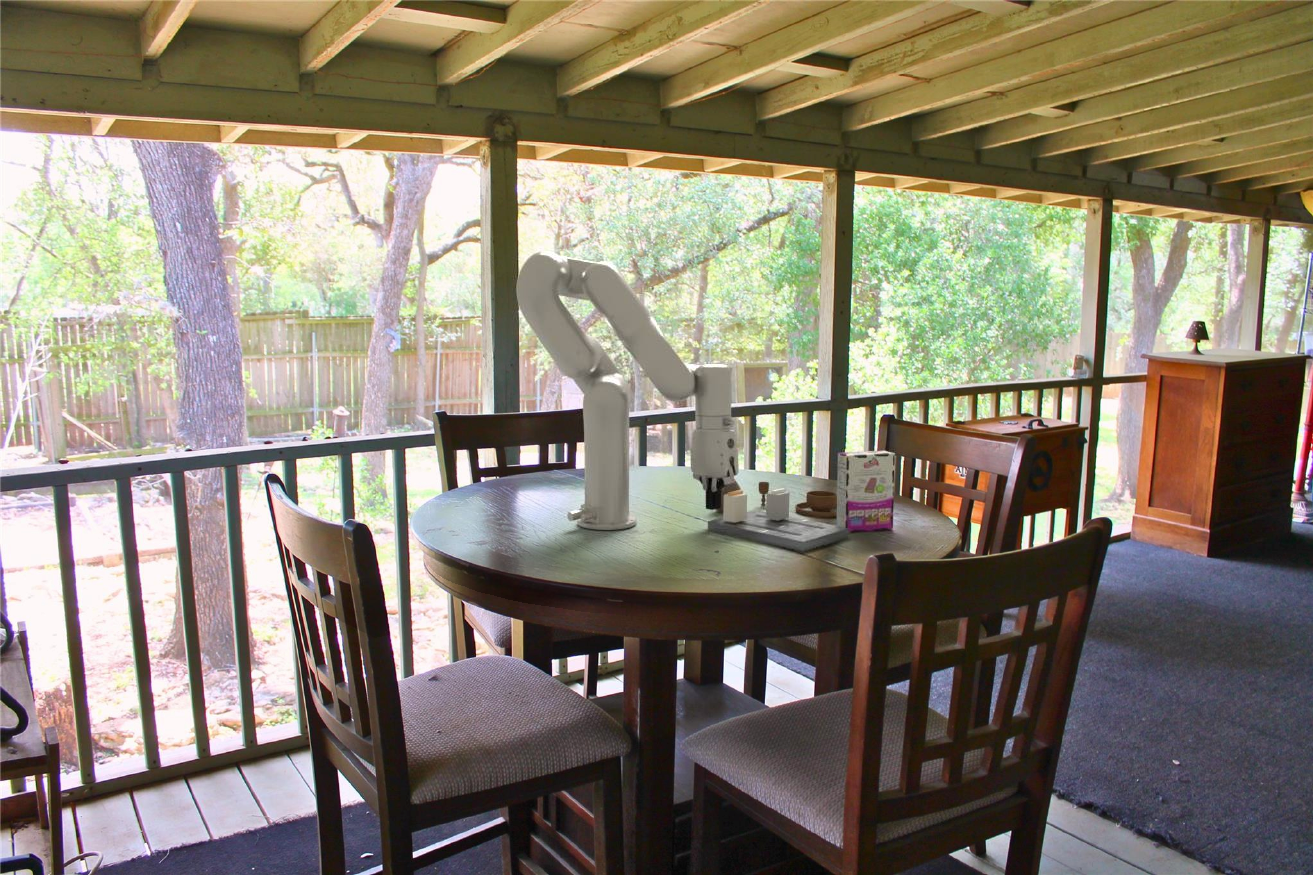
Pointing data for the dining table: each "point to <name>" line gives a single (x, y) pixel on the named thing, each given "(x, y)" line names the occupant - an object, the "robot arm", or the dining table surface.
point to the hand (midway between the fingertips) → (713, 508)
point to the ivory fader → (735, 506)
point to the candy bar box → (865, 490)
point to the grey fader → (777, 504)
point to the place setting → (810, 502)
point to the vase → (727, 489)
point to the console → (781, 531)
